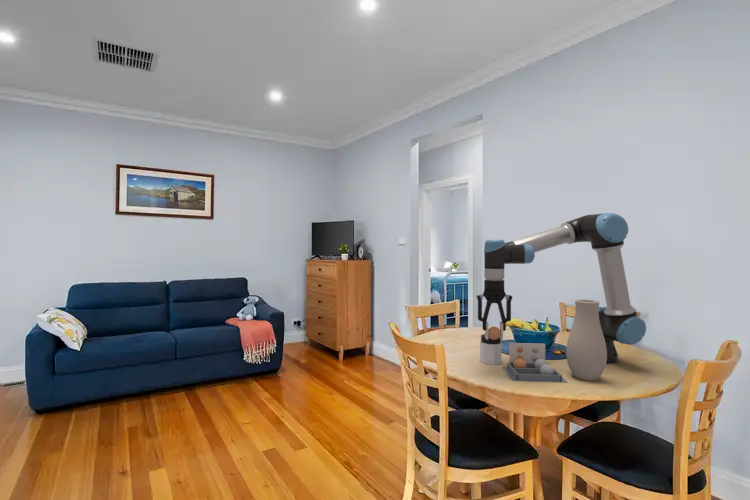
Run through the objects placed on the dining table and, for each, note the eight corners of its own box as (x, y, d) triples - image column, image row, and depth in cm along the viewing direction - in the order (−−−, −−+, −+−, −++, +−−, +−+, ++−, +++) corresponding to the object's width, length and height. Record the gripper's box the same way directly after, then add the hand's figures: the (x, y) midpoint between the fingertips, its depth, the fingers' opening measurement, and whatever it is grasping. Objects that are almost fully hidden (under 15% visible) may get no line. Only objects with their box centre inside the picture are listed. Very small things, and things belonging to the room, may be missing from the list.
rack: (552, 370, 168) (552, 343, 167) (568, 385, 151) (568, 355, 150) (501, 369, 169) (501, 342, 169) (512, 383, 152) (512, 353, 152)
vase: (575, 385, 150) (576, 303, 150) (560, 373, 164) (561, 298, 164) (613, 386, 150) (615, 303, 149) (595, 374, 164) (596, 298, 163)
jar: (491, 368, 170) (491, 339, 170) (476, 363, 177) (476, 335, 177) (505, 364, 175) (505, 336, 175) (490, 360, 182) (490, 333, 182)
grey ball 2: (551, 375, 158) (551, 362, 158) (556, 380, 153) (556, 366, 153) (537, 375, 159) (538, 362, 159) (542, 379, 154) (542, 366, 154)
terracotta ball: (524, 369, 166) (524, 356, 166) (528, 373, 161) (528, 360, 161) (511, 369, 166) (512, 356, 166) (515, 373, 161) (515, 360, 161)
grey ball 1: (545, 369, 165) (545, 357, 165) (549, 374, 160) (549, 361, 160) (532, 369, 166) (532, 357, 166) (536, 373, 161) (536, 360, 161)
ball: (499, 338, 164) (499, 325, 164) (501, 341, 159) (501, 328, 159) (486, 337, 165) (486, 325, 165) (488, 340, 160) (488, 327, 160)
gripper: (515, 278, 164) (515, 337, 165) (469, 278, 166) (469, 336, 167) (520, 280, 157) (520, 341, 157) (472, 280, 158) (472, 340, 159)
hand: (494, 338), depth 162 cm, fingers closed on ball, 5 cm apart
